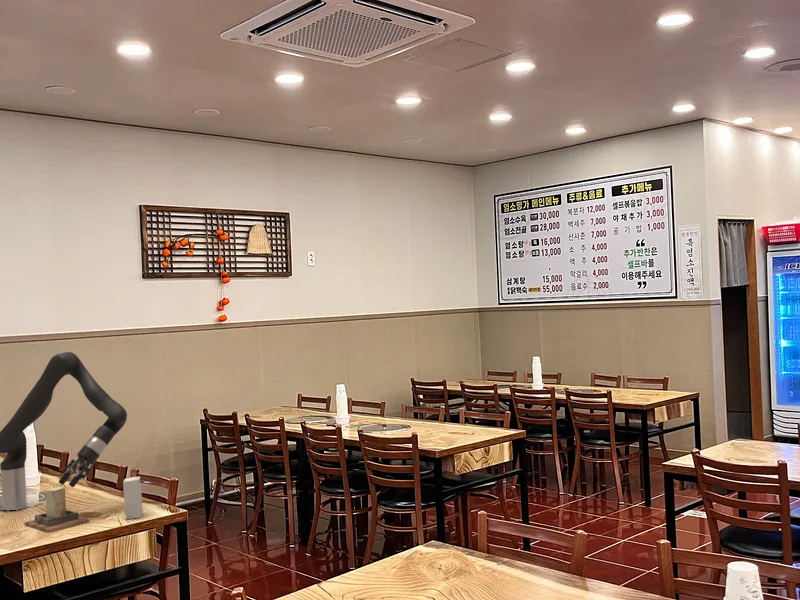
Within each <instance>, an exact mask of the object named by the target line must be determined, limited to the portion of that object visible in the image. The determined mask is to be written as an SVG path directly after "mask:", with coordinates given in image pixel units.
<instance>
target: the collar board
mask: <svg viewBox="0 0 800 600" xmlns="http://www.w3.org/2000/svg"><path fill="white" fill-rule="evenodd" d="M87 522H89V523H90V522H91V521H90V519H89V518H87V517H82V516H79V512H77V511H74V510H70V509H66V515H64V516H60V517H56V518H52V519H48V518H47V512H46V513H41V514H36V515H34V519H32V520H27V521H24V526H25V525H26V526H25V527H28V526H29V528H31V527H32V529H35V530H38V531H42V532H45V533H47V532H48V534H50V533H54V532H56V531H57V532H58V531H60V530H65V529H70V528H74V527H77V526H81V525H84V524H83V523H85V524H88V523H87ZM80 524H81V525H80ZM76 525H77V526H76ZM53 531H54V532H53ZM49 532H50V533H49Z"/></svg>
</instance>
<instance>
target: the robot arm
mask: <svg viewBox="0 0 800 600" xmlns="http://www.w3.org/2000/svg"><path fill="white" fill-rule="evenodd" d="M67 375H70V376H71V377H73V378H74V379H75V380H76V381H77V382H78V384H79V385H80V386H81V387H80V388H81V389H82V392H83V394H84V396H85V398H86V399H87V400H88V401H89V403H90V404H92V405H93V406H94V407H95V409H96V410H97V411H100V412H102V413H103V414H104V415H105V416H106V417H107V419H106V420H105V422H104V423H103V424H102V425H100V426H99V427H98V428H97V429H96V430H95V432H94V433H93V434H92V435H91V437H89V439H87V441H86V442H85V444H84V445H83V446H82V447H81V449H80V450H79V451H78V452H77V454H76V455H77V459H76V460H75V459H71V460H70V461H69V463H68V464H67V465H66V466H65V468H63V470H62V472H63V475H62V476H61V477H60V479H59V480H58V483H59V484H60V485H61V486H64V485H65V483H66V482H67V480H68V479H69V478H70V477H71V476H73V475H74V476H73V478H72V479H71V480H70V482H69V483H68V486H69V487H71V488H74V487H75V486H76V485H77V484H78V482H79V481H81V480H83V479H85V478H86V477H87V475H88V474H89V472H91V470H92V469H93V467H94V464H95V463H96V462H97V460H98V459H99V457H100V456H101V455H102V454H103V453H104V451H105V449H106V448H107V447H108V445H109V443H110V442H111V441H113V440H112V439H114V436H115V435H117V434H118V432H119V431H121V429H122V428H124V426H125V424H126V423H127V418H128V413H127V410H126V409H125V408H124V407H123V406H122V404H120V403H119V402H118V401H116V400H115V399H113V397H111V395H109V394H108V393H107V392H106V391H105V390H104V389H103V388H102V387H101V385H99V383H98V382H97V381H96V380H95V379H94V377H93V375H91V373H90V372H89V370H87V368H86V367H85V365H84V364H83V362H82V361H81V359H80V358H79V356H78V355H77V354H76V353H74V352H71V351H65V352H62V353H56V354H55V355H53V356H52V357H51V358H50V360H49V361H48V363H47V364H46V366H45V369H44V371H43V372H42V374H41V376H40V377H39V379H38V380H37V382H36V383H35V384H34V386H33V387H32V388H31V390H30V391H29V393H28V394H27V395H26V397H25V398H24V400H23V401H22V402H21V404H20V406H19V407H18V409H17V410H16V412H15V413H14V414H13V415H12V417H11V418H10V420H9V421H8V422H7V424H6V425H4V427H3V428H2V429H1V430H0V454H6V456H5V458H4V459H3V460H2V461H1V462H0V486H1V504H2V505H1V506H2V511H3V510H16V511H20V510H19V509H21V510H24V509H26V508H27V507H28V506H27V505H28V503H27V501H28V500H27V486H26V485H27V483H26V482H27V481H26V461H27V451H28V449H27V437H26V434H25V432H24V431H25V430H26V429H27V428H28V427H29V426H30V425H32V424H33V423H35V422H36V421H37V420H38V419H39V418H40V417H41V416H42V415H43V414H44V413H45V411H46V410H47V408H48V407H49V405H50V404H51V402H52V399H53V395H54V391H55V388H56V386H57V385H58V384H59V382H60V381H61V380H62V379H63V378H64V377H65V376H67ZM25 507H26V508H25ZM23 508H24V509H23Z"/></svg>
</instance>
